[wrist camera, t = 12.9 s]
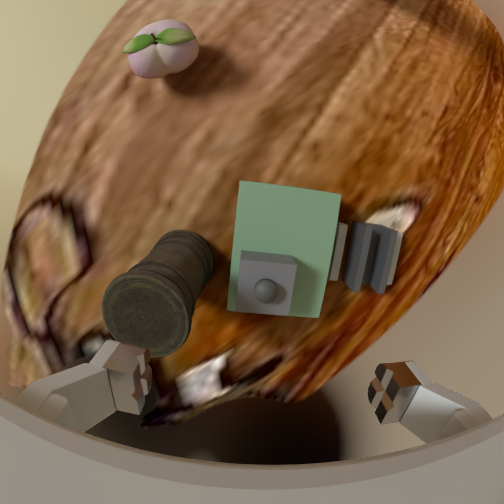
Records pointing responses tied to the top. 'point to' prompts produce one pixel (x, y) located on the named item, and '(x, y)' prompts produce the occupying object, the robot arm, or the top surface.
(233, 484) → the robot arm
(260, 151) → the top surface
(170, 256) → the container
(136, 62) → the decorative fruit
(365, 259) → the chute
